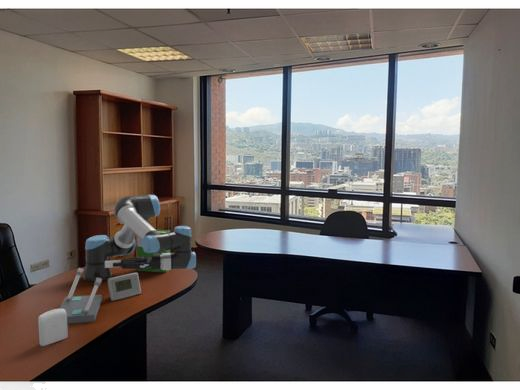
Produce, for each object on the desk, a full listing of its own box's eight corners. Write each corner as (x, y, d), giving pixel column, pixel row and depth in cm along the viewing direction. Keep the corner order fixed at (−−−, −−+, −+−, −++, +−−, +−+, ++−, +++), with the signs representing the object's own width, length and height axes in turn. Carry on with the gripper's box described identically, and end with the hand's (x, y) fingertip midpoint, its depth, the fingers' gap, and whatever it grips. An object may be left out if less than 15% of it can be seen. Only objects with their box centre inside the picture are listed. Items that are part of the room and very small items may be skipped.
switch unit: (101, 300, 200) (101, 294, 200) (94, 321, 177) (94, 314, 177) (65, 302, 197) (65, 296, 196) (53, 324, 173) (53, 317, 173)
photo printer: (42, 347, 154) (40, 316, 153) (37, 343, 157) (36, 312, 155) (69, 338, 162) (68, 308, 160) (64, 334, 165) (63, 305, 163)
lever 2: (89, 309, 183) (102, 278, 182) (87, 314, 178) (100, 283, 177) (84, 308, 182) (96, 277, 182) (82, 313, 177) (95, 281, 177)
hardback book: (137, 270, 247) (137, 231, 244) (142, 267, 255) (142, 229, 252) (166, 272, 246) (166, 232, 243) (170, 268, 253) (170, 230, 250)
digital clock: (110, 302, 199) (109, 281, 197) (105, 296, 206) (105, 275, 205) (143, 296, 207) (143, 275, 206) (138, 290, 215) (137, 270, 214)
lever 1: (72, 297, 196) (84, 269, 195) (70, 302, 191) (82, 272, 190) (67, 296, 195) (78, 267, 195) (64, 300, 190) (76, 271, 189)
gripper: (161, 274, 179) (103, 277, 173) (160, 265, 192) (107, 268, 186) (161, 257, 178) (103, 260, 172) (160, 249, 191) (106, 252, 185)
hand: (105, 264), depth 179 cm, fingers closed
